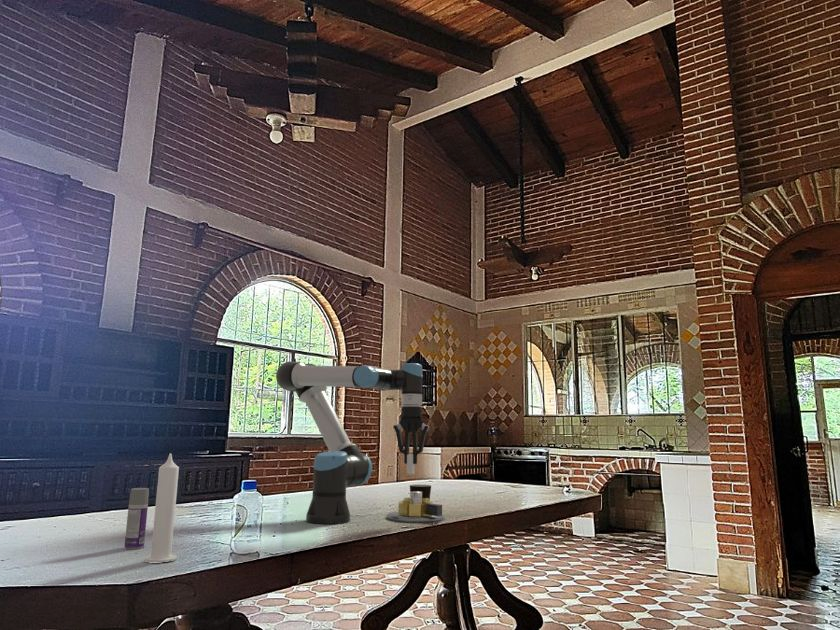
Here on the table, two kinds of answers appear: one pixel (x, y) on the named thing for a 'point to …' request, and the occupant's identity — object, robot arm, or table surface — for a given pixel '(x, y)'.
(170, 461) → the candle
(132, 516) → the container
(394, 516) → the flange plate
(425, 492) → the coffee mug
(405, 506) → the toy block cluster
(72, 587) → the table surface
